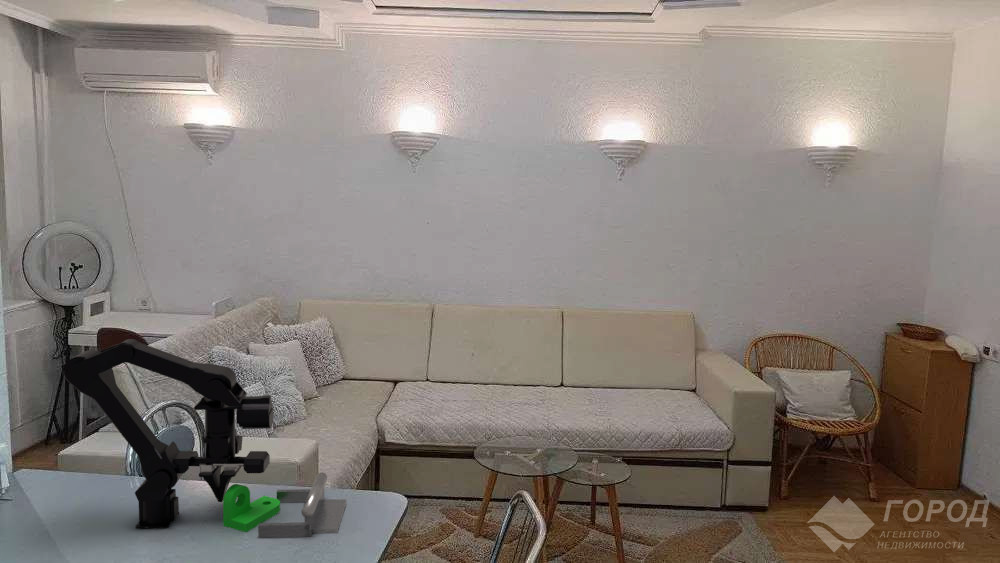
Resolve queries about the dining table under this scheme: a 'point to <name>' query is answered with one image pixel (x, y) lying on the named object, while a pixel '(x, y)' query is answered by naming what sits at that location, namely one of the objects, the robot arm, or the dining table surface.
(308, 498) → the bracket
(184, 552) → the dining table surface
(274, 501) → the mechanical part
